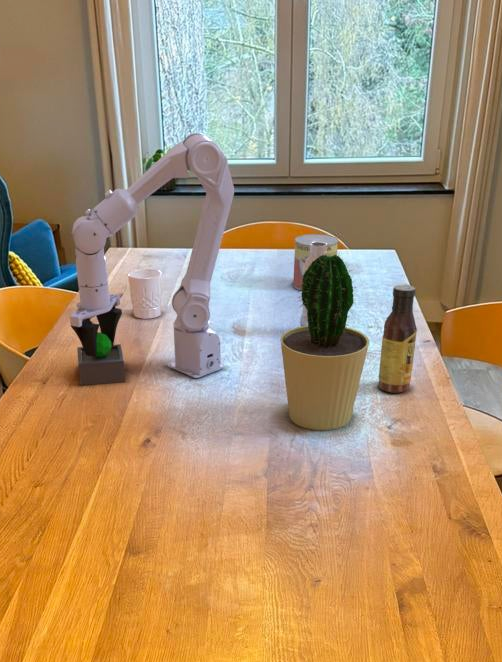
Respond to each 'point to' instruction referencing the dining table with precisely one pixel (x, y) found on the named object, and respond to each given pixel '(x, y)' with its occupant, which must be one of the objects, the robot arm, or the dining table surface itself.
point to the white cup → (145, 292)
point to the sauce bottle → (398, 342)
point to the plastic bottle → (315, 251)
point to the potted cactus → (324, 349)
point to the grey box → (101, 367)
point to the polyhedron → (102, 345)
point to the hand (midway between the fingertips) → (99, 349)
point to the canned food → (303, 253)
